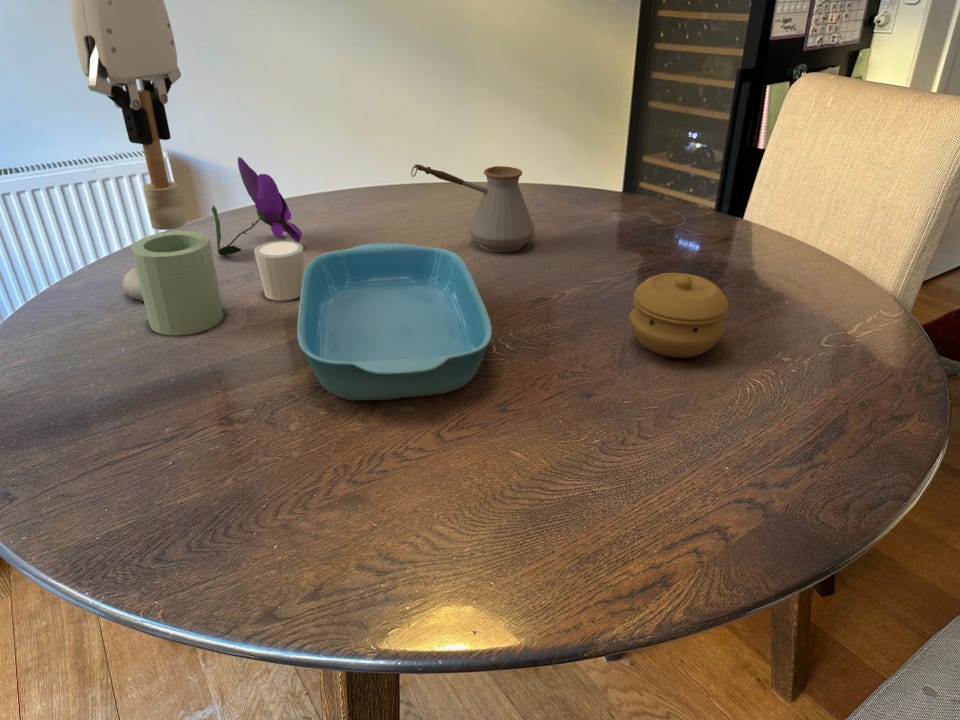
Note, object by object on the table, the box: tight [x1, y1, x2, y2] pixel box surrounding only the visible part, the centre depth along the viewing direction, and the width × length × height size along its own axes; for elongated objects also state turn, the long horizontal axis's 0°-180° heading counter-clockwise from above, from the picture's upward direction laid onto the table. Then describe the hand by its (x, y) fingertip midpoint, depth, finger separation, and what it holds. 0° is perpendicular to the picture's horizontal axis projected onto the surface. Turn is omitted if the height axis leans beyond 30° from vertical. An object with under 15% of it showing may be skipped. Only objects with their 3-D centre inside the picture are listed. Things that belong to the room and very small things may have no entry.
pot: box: [629, 272, 729, 359], centre depth 89 cm, size 12×12×10 cm
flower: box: [211, 156, 303, 258], centre depth 116 cm, size 15×15×14 cm
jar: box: [130, 230, 224, 336], centre depth 93 cm, size 9×9×11 cm
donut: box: [121, 266, 144, 302], centre depth 103 cm, size 10×4×10 cm
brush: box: [138, 89, 187, 231], centre depth 85 cm, size 4×4×16 cm
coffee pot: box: [410, 164, 535, 253], centre depth 118 cm, size 21×12×15 cm, turn 109°
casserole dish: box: [296, 242, 493, 402], centre depth 89 cm, size 37×22×7 cm, turn 10°
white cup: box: [253, 240, 305, 302], centre depth 102 cm, size 7×7×7 cm
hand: (150, 139), depth 84 cm, fingers closed on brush, 2 cm apart
